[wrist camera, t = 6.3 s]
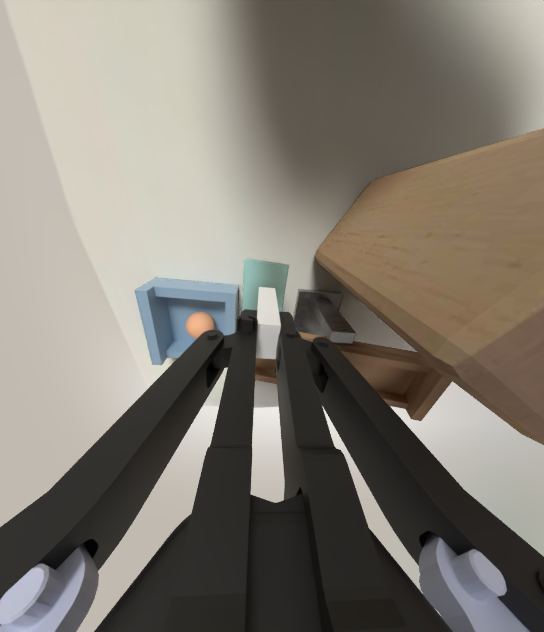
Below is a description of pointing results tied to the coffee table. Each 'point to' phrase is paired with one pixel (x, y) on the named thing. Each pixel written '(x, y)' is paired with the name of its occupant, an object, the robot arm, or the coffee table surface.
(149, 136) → the coffee table surface
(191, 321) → the ball
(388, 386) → the lever
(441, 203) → the wooden block
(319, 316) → the fulcrum
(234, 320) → the blue square tray
